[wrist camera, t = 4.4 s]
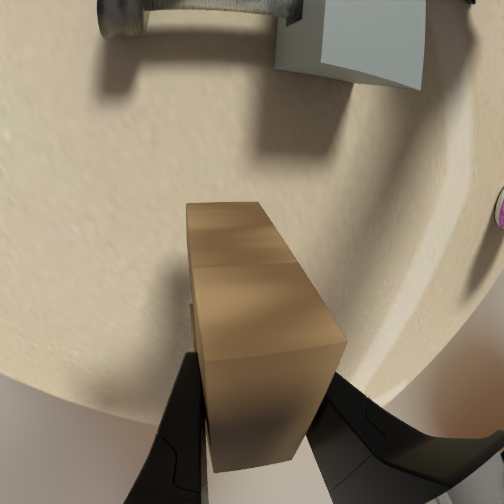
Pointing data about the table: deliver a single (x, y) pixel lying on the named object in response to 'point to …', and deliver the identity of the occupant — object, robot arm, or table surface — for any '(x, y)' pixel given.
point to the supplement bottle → (500, 210)
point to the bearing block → (356, 41)
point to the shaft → (140, 3)
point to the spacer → (255, 336)
